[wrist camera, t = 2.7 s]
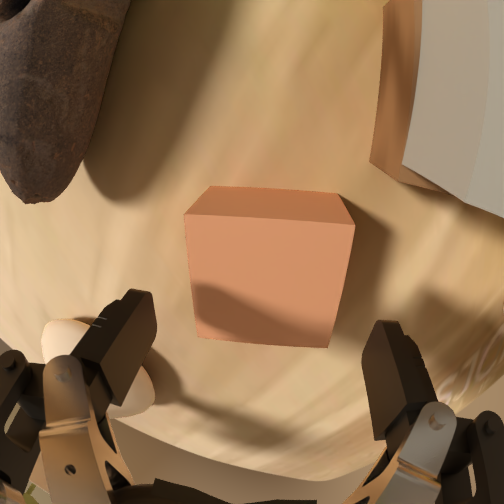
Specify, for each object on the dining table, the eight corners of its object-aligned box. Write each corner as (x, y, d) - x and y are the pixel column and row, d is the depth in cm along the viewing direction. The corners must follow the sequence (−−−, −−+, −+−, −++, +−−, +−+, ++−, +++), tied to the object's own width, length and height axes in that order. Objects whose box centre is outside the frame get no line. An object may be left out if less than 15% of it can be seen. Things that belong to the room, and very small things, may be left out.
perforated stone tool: (112, 193, 14) (23, 253, 8) (48, 177, 14) (-35, 221, 8) (177, -58, 7) (115, -120, 1) (99, -45, 7) (24, -77, 1)
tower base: (381, 8, 8) (412, -21, 5) (504, 65, 8) (549, 65, 4) (367, 160, 12) (397, 181, 9) (488, 194, 12) (530, 221, 8)
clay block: (211, 185, 13) (183, 214, 10) (337, 192, 13) (355, 225, 9) (215, 288, 16) (197, 337, 13) (321, 296, 16) (327, 347, 12)
